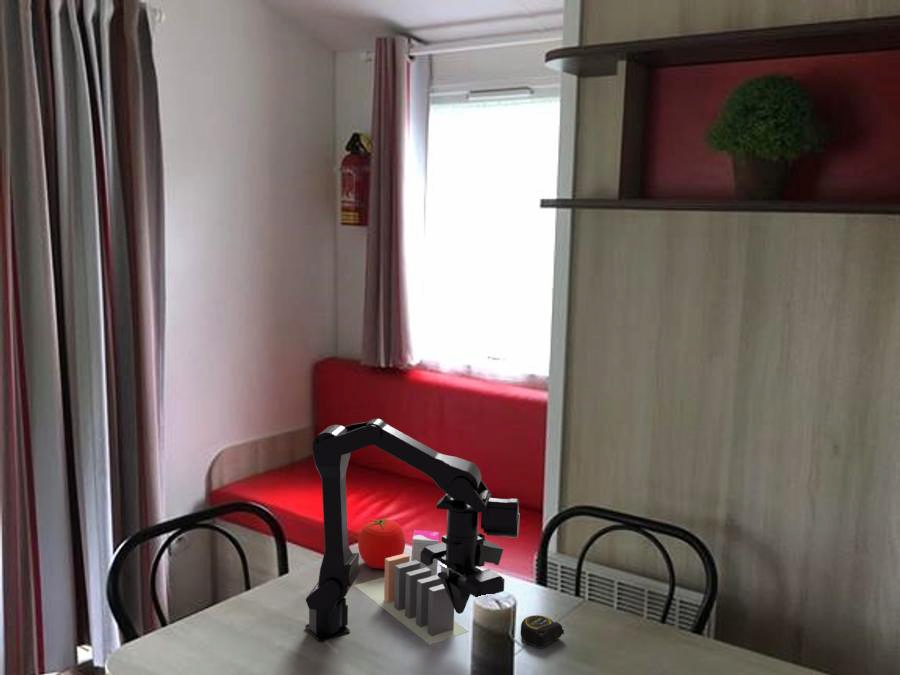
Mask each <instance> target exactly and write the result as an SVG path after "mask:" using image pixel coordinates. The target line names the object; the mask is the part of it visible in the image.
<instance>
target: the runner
mask: <svg viewBox="0 0 900 675" xmlns="http://www.w3.org/2000/svg"><path fill="white" fill-rule="evenodd" d="M353 585H354V587H356V589H358V590H359V591H360V592H362V593H363V594H364V595H366V597H368V598H369V599H371V600H372V601H373V602H374V603H376V604H377V605H378V606H380V607H381V608H382V609H383V610H385V611H386V612H387V613H388V614H390V615H391V616H393V617H394V618H395V619H396V620H397V621H399V622H400V623H402V624H403V625H404V626H405V627H406V628H408V629H409V630H411V631H412V632H413V633H414V634H415V635H417V636H418V637H419V638H421V639H422V640H423V641H424V642H426V643H427V644H428V645H429V646H431V645H433V644H436V643H439V642H442V641H445V640H448V639H450V638H454V637H456V636H460V635H462V634H466V633H469V630H468V629H466V628H465V627H464V626H462V625H461V624H460V623H457V622H456V621H455V620H454V629H453V630H450V631H447V632H444V633H441V634H438V635H435V636H431V635H430V634H428V633H427V632H428V625H427V626H424V627H419V626H418V625H417V624H416V617H414V618H411V619H409V618H407V617H406V616H405V609H403V610H400V611H398V610H397V609H396V608H394V603H395V601H393V602H390V603H388V602H386V601H385V600H384V585H385V576H383V577H380V578H376V579H373V580H368V581H365V582H362V583H357V584H353Z"/></svg>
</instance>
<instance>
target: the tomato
mask: <svg viewBox="0 0 900 675" xmlns="http://www.w3.org/2000/svg"><path fill="white" fill-rule="evenodd" d="M370 520H372V521H370V522H368V523H366V524H364V525H363V526H362V528H361V529H360V532H359V534H358V539H357V548H358V553H359V556H360V557H361V559H362V560H363V562H364V563H365V564H366V565H367V566H369V567H370V568H373V569H378V570H379V569H380V570H383V569H384V570H385V558H389V557H393V556H397V555H401V554H405V549H406V539H405V534H404V532H403V529H402V527H401V525H400V524H399V523H398V522H397V521H395V520H393V519H387V517H385V518H382V519H372V518H370Z"/></svg>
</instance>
